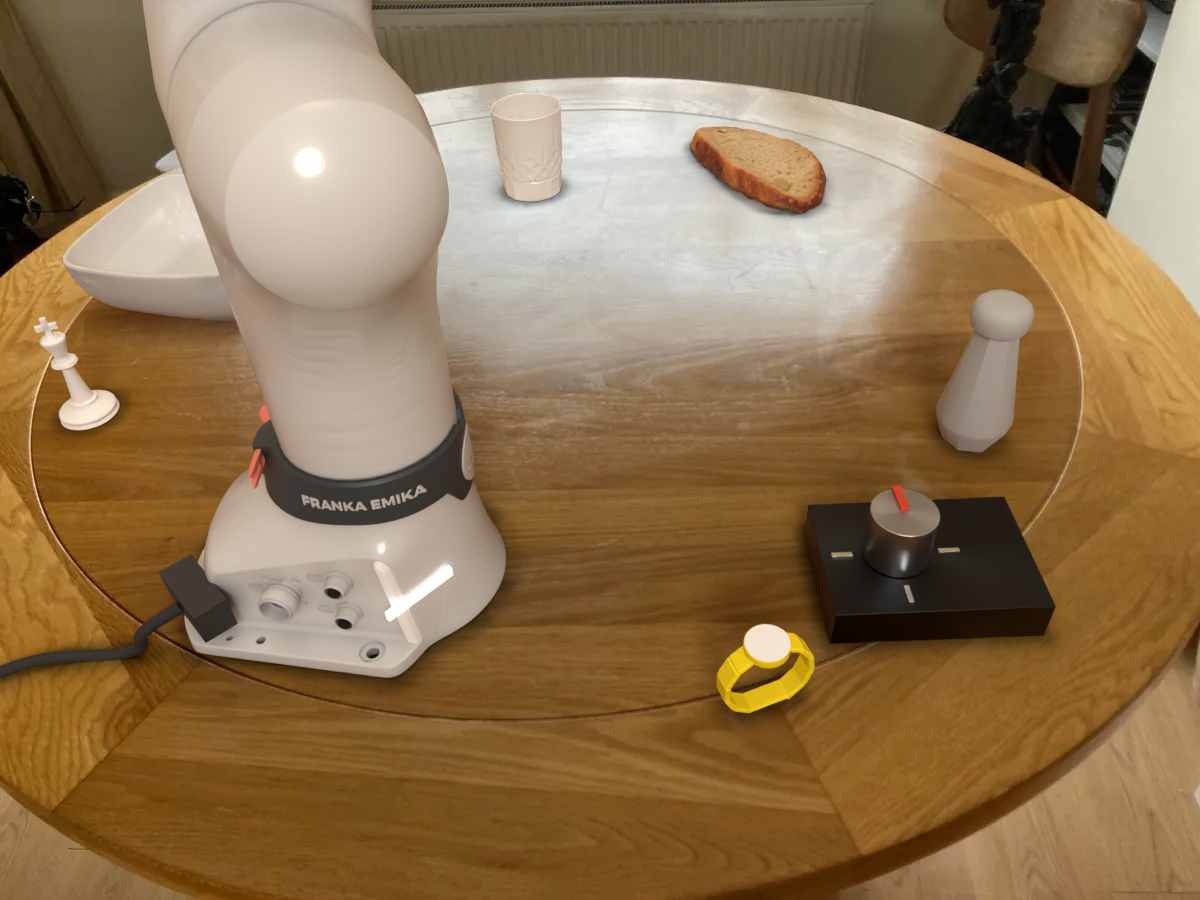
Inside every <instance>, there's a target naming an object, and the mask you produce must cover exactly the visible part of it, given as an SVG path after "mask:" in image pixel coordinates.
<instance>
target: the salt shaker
mask: <svg viewBox="0 0 1200 900" xmlns="http://www.w3.org/2000/svg"><path fill="white" fill-rule="evenodd" d="M969 319H970V327H971V328H972V329H973V333H972V334H971V336H970V338H969V341H968V342H967V345H966V347H965V349H964V351H963V353H962V354H961V357H960V358H959V360H958V363H957V365H956V367H955V368H954V370H953V372H952V374H951V376H950V377H949V379H948V382H947V384H946V386H945V387H944V390H943V391H942V393H941V395H940V397H939V399H938V401H937V403H936V410H935V411H936V421H937V425H938V428H939V431H940V435H941V438H942V439H944V441H946V442H947V443H949V444H950V445H951V446H952V447H953V448H954V449H955V450H957V451H963V452H973V453H983V452H984V451H986V450H987V449H988V448H990V447H991V446H993V444H995V443H996V442H998V441H999V440H1000V439H1002V438H1003V437H1005V435H1006V434H1007V432H1008V431H1009V430H1010V428H1012V425H1013V423H1014V419H1015V409H1016V408H1015V405H1016V393H1017V380H1018V379H1017V378H1018V365H1019V352H1020V339H1021V338H1023V337H1025V336H1026V334H1027V333H1028V331H1029V330H1030V329H1031V328H1032V325H1033V324H1034V320H1035V309H1034V305H1033V304H1032V302H1031V301H1030V300H1029V299H1028V298H1027V297H1025V295H1023V294H1022V293H1019V292H1016V291H1014V290H1009V289H1004V288H1002V289H991V290H987V291H985V292H983V293H980V294H979V295H978V296H977V297H976V299H974V301H973V303H972V305H971V307H970V312H969Z"/></svg>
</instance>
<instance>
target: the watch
mask: <svg viewBox="0 0 1200 900" xmlns="http://www.w3.org/2000/svg"><path fill="white" fill-rule="evenodd" d="M742 641H743V642H742V643H743V644H742V645H741V646H740V647H739V648H737V649H735V651H733V652H732V653H731V654H729V655H728V656H727V658H726V659H725V660H724V662H723V663H722V664H721V666H720V668H719V669H718V672H717V674H716V683H715V686H716V689H717V690H718V692H719V694H720V696H721V698H722V700H723V702H724V704H725V705H726V706H727V707H728V708H729V709H730V710H731V711H732V712H736V713H743V714H751V713H753V712H756V711H759V710H761V709H764V708H766V707H770V706H772V705H774V704H777V703H779V702H782V701H786V700H790V699H791V698H792V697H793V696H795V695H796V694H797V693H798V692H799V691H801V689H803V688H804V687H805V686H806V685H807V683H808V682H809V680H810V678H811V677H812V675H813V673H814V671H815V668H816V665H815V656H814V654H813V653H812V651H811V649H810V648H809V647H808V645H807V643H806V642H805V640H804V639H803V638H802V637H800V636H799V635H797V634H796V633H795V632H787V631H785V630H784V629H782V628H781V627H779V626H777V625H774V624H771V623H770V624H769V623H761V624H757V625H755V626H753V627H751V628H749V629H748V630H747V631H746V632H745V634H744V637H743V640H742ZM791 653H794V654H795V653H796V654H797V653H799V655H798V658H797V659H796V661H795V663H794V664H793V666H792V667H791V668H790V669H789V670H788V671H787V672H785V674H784V675H782V676H781V677H780V678H778V679H776V680H774V681H771V682H769V683H766V684H764V685H761V686H758V687H756V688H753V689H750V690H748V691H745V692H734V691H732V688H733V687H734V685H735V684H736V682H737V681H738V680H739V678H740V677H741V675H743V674H744V673H746V672H747V671H748V670H750V669H751V668H752V667H754V666H756V667H759V668H761V669H774V668H778V667H780V666H782V665H784V664H785V663H786V662H787V661H788V660H789V658H790V656H791Z"/></svg>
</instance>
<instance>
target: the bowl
mask: <svg viewBox="0 0 1200 900" xmlns="http://www.w3.org/2000/svg"><path fill="white" fill-rule="evenodd" d="M62 264H63V266H64V267H65V269H66V270H67V272H68V273H69V275H70V276H71V278H72V279H73V281H74V282H75V283H77V285H78V286H79V287H80V288H81V289H82V290H83V291H85V292H86V293H87V294H88V295H90V296H91V297H92V298H93V299H96V300H97V301H99V302H100V303H103V304H105V305H108V306H110V307H112V308H116V309H119V310H126V311H130V312H131V311H132V312H138V313H144V314H150V315H157V316H164V317H171V318H172V317H173V318H179V319H190V320H199V321H200V320H202V321H215V322H216V321H217V322H219V321H220V322H232V321H236V320H235V317H234V314H233V311H232V309H231V306H230V303H229V300H228V297H227V295H226V292H225V289H224V286H223V283H222V281H221V278H220V275H219V272H218V269H217V267H216V264H215V261H214V258H213V256H212V253H211V250H210V247H209V245H208V242H207V239H206V236H205V234H204V231H203V228H202V225H201V222H200V220H199V217H198V214H197V211H196V209H195V206H194V203H193V200H192V197H191V194H190V192H189V189H188V186H187V183H186V180H185V177H184V174H183V172H176V173H172V174H167V175H164V176H161V177H158V178H156V179H153V180H152V181H150V182H148V183H147V184H145V185H144V186H142V187H140V188H139V189H138V190H136V191H135V192H134V193H132V194H131V195H129V196H128V197H127V198H125V199H124V200H122V201H121V202H119V203H118V204H117V205H116V206H115V207H113V208H112V209H110V210H109V211H108V212H106V213H105V214H103V216H101V218H99V219H98V220H97V221H95V223H94V224H92V225H91V226H90V227H89V228H87V229H86V230H85V231H84V232H83V233H81V235H79V237H77V239H75V240H74V241H73V242H72V243H71V244H70V245H69V247H68V248H66V251H64V254H63V256H62Z"/></svg>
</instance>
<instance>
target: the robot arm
mask: <svg viewBox="0 0 1200 900" xmlns="http://www.w3.org/2000/svg"><path fill="white" fill-rule="evenodd" d="M141 2H142V10H143V15H144V22H145V30H146V37H147V45H148V52H149V59H150V66H151V71H152V72H151V73H152V78H153V84H154V89H155V90H154V91H155V93H156V97H157V101H158V103H159V106H160V109H161V112H162V115H163V117H164V119H165V120H164V121H165V123H166V125H167V128H168V132H169V134H170V138H171V141H172V144H173V145H172V146H173V148H174V151H175V154H176V157H177V159H178V162H179V165H180V168H181V172H182V173H183V174H184V177H185V180H186V183H187V186H188V189H189V192H190V194H191V197H192V200H193V203H194V206H195V209H196V211H197V214H198V217H199V220H200V222H201V225H202V228H203V231H204V234H205V236H206V239H207V242H208V245H209V247H210V250H211V253H212V256H213V258H214V261H215V264H216V267H217V269H218V272H219V275H220V278H221V281H222V283H223V286H224V289H225V292H226V295H227V297H228V300H229V303H230V306H231V309H232V311H233V314H234V317H235V320H234V321H235V322H236V325H237V329H238V331H239V333H240V337H241V340H242V342H243V345H244V348H245V350H246V354H247V357H248V360H249V362H250V365H251V369H252V371H253V373H254V376H255V379H256V382H257V385H258V387H259V390H260V393H261V396H262V398H263V404H262V406H261V407H260V409H259V411H258V416H259V418H260V420H261V421H262V422H263V423H264V424H262V425H261V426H260V427H259V428H258V429H257V430H256V433H255V436H254V437H253V441H252V445H251V446H252V449H253V454H252V455H253V456H252V457H251V460H250V463H249V466H248V469H246V470H245V471H243V472H242V473H240V475H239V476H237V477H236V479H234V480H233V482H232V483H231V485H229V487H228V488H227V490H226V492H225V494H224V495H223V496H222V498H221V500H220V502H219V503H218V506H217V508H216V510H215V512H214V515H213V517H212V519H211V522H210V525H209V528H208V531H207V536H206V540H205V544H204V545H205V546H204V548H203V549H202V551H201V554H200V556H199V558H198V560H196V558H195V557H194V556H193V554H189V555H187V556H185V557H183V558H182V559H180V560H178V561H176V562H174V563H172V564H171V565H169V566H167V567H165V568H163V569H162V570H160V571H158V574H159V576H160V578H161V580H162V582H163V584H164V585H165V586H164V587H166V589H167V591H168V593H169V595H170V597H171V598H172V600H173V603H172V604H171V605H169V606H167V607H166V608H164V609H162V610H161V611H160V612H158V613H157V614H155V615H153V616H152V617H150V618H149V619H147V620H146V621H145V622H144V623H142V625H140V626H139V627H138V629H137V630H136V631H135V633H134V635H133V643H131V644H129V645H126V646H123V647H116V648H107V649H106V648H105V649H71V650H57V651H47V652H42V653H37V654H33V655H28V656H24V657H21V658H18V659H15V660H11V661H10V662H7V663H4V664H1V665H0V680H1V679H4V678H5V677H8V676H12V675H14V674H16V673H20V672H22V671H27V670H30V669H34V668H37V667H42V666H48V665H58V664H72V663H76V664H77V663H89V662H91V663H93V662H104V661H105V662H106V661H122V660H125V659H129V658H133V657H136V656H138V655H141V654H143V653H144V652H145V651H147V649H148V647H149V640H148V639H149V637H150V636H151V635H153V633H154V632H156V631H157V630H158V629H160V628H161V627H163V626H164V625H166V624H167V623H170V621H172V620H174V619H175V618H177V617H178V616H180V615H181V614H184V625H185V631H186V633H187V636H188V639H189V642H190V645H191V647H192V649H193V651H195V652H196V653H199V654H203V655H208V656H216V657H223V658H231V659H239V660H246V661H254V662H261V663H267V664H268V663H269V664H277V665H284V666H291V667H299V668H307V669H314V670H322V671H329V672H338V673H344V674H353V675H358V676H359V675H361V676H367V677H368V676H369V677H375V678H383V679H391V678H396V677H398V676H400V675H402V674H403V673H405V672H406V671H407V670H408V669H410V668H411V667H412V666H413V665H414V664H415V662H417V660H419V658H420V657H421V656H422V655H423V654H424V653H425V652H426V651H427V649H428V648H430V647H431V646H432V645H433V644H435V643H437V642H439V640H442V639H444V638H446V637H448V636H450V635H451V634H453V633H454V632H455V633H456V631H458V630H460V629H461V628H463V627H464V626H466V625H467V624H469V623H470V622H471V621H473V620H474V619H475V618H476V617H477V616H478V615H479V614H481V613H482V612H483V611H484V609H485V608H486V607H487V606H488V605H489V604H490V602H491V601H492V600H493V598H494V597H495V595H496V594H497V592H498V590H499V588H500V586H501V584H502V581H503V579H504V576H505V572H506V566H507V551H506V544H505V542H504V540H503V537H502V535H501V533H500V531H499V529H498V528H497V527H496V525H495V524H494V522H493V520H492V519H491V517H490V516H489V514H488V512H487V510H486V508H485V506H484V503H483V501H482V499H481V496H480V493H479V491H478V488H477V485H476V483H475V480H474V476H475V457H474V450H473V443H472V439H471V438H472V437H471V432H470V426H469V423H467V421H466V416H465V412H464V408H463V404H462V400H461V398H460V396H459V394H458V393H457V391H456V390H455V389H454V388H453V384H452V378H451V372H450V367H449V366H450V365H449V361H448V357H447V355H448V354H447V350H446V346H445V345H446V344H445V340H444V339H445V338H444V335H443V330H442V323H441V316H440V310H439V302H438V264H439V247H440V244H441V242H442V239H443V236H444V234H445V231H446V227H447V224H448V217H449V212H450V211H449V209H450V191H449V184H448V183H449V182H448V177H447V174H446V169H445V165H444V162H443V158H442V155H441V152H440V149H439V146H438V143H437V140H436V137H435V134H434V131H433V128H432V126H431V124H430V121H429V119H428V116H427V115H426V112H425V109H424V107H423V106H422V104H421V102H420V101H419V99H418V98H417V96H416V94H415V93H414V92H413V90H412V89H411V88H410V86H409V85H408V84H407V83H406V82H405V81H404V80H403V79H402V77H400V75H399V74H398V73H397V72H396V71H395V70H394V69H393V68H392V66H391V65H390V64H389V63H388V62H387V61H386V60H385V59H384V58H383V56H382V55H381V53H380V50H379V46H378V43H377V39H376V34H375V30H374V22H373V0H142V1H141ZM374 655H375V656H376V657H374V658H372V656H374Z"/></svg>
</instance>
